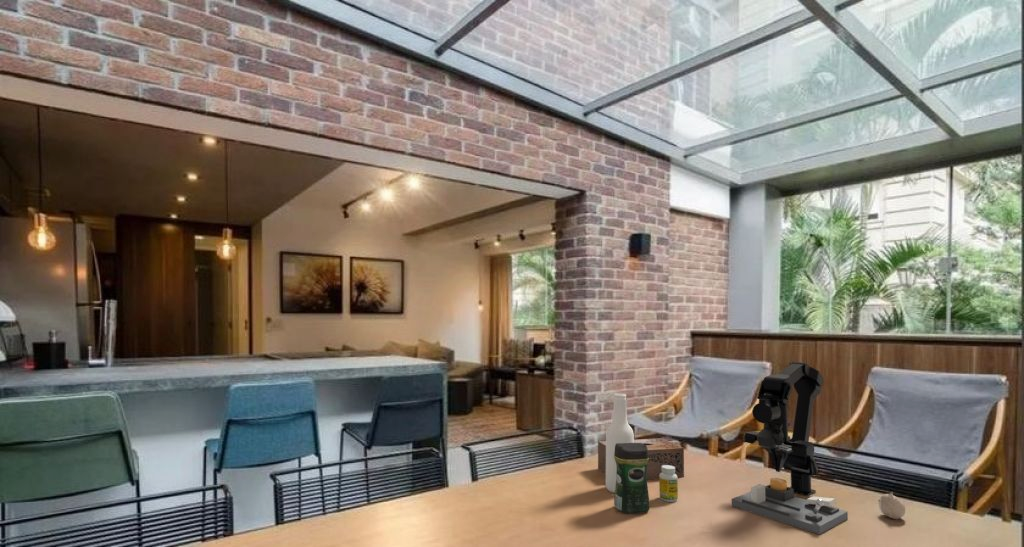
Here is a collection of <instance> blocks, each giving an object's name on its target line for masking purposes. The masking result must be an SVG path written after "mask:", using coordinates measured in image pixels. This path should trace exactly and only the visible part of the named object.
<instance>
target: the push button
mask: <svg viewBox="0 0 1024 547" xmlns="http://www.w3.org/2000/svg"><path fill="white" fill-rule="evenodd" d="M769 485H770V488H771V489H774V490H778V491H781V492H784V491H787V487H788V485H787V480H786V479H783V478H778V477H771V478H770V479H769Z"/></svg>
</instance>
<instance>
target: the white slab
mask: <svg viewBox="0 0 1024 547" xmlns="http://www.w3.org/2000/svg"><path fill="white" fill-rule="evenodd" d="M817 499H822V500H823V501H824V505H823V506H832V507H833V506H834V505H835V504H837V501H836V498H831V497H821V496H810V497H809V498H806V500H807V504H815V505H816V504H817V503H816V500H817Z"/></svg>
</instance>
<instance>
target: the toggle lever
mask: <svg viewBox="0 0 1024 547" xmlns="http://www.w3.org/2000/svg"><path fill="white" fill-rule="evenodd" d="M816 503H817V504H816V506H815V508H814V510H813V513H814V514H817V512H818V511H819V509H820V507H821V506H823V505H824V501H823V500H822V499H817V500H816Z"/></svg>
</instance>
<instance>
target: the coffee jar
mask: <svg viewBox="0 0 1024 547" xmlns="http://www.w3.org/2000/svg"><path fill="white" fill-rule="evenodd" d="M614 459H615V461H616V466H617V475H616V487H615V493H614V499H613V501H614V503H613V506H614V507H615V509H616V510H617V511H618V512H620V513H623V514H641V513H644V514H645V513H648V512H649V510H650V506H651V505H650V497H649V496H650V494H649V487H648V479H647V464H648V461H649V456H648V449H647V446H646V445H644V444H642V443H617V444H616V445H615V452H614Z"/></svg>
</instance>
